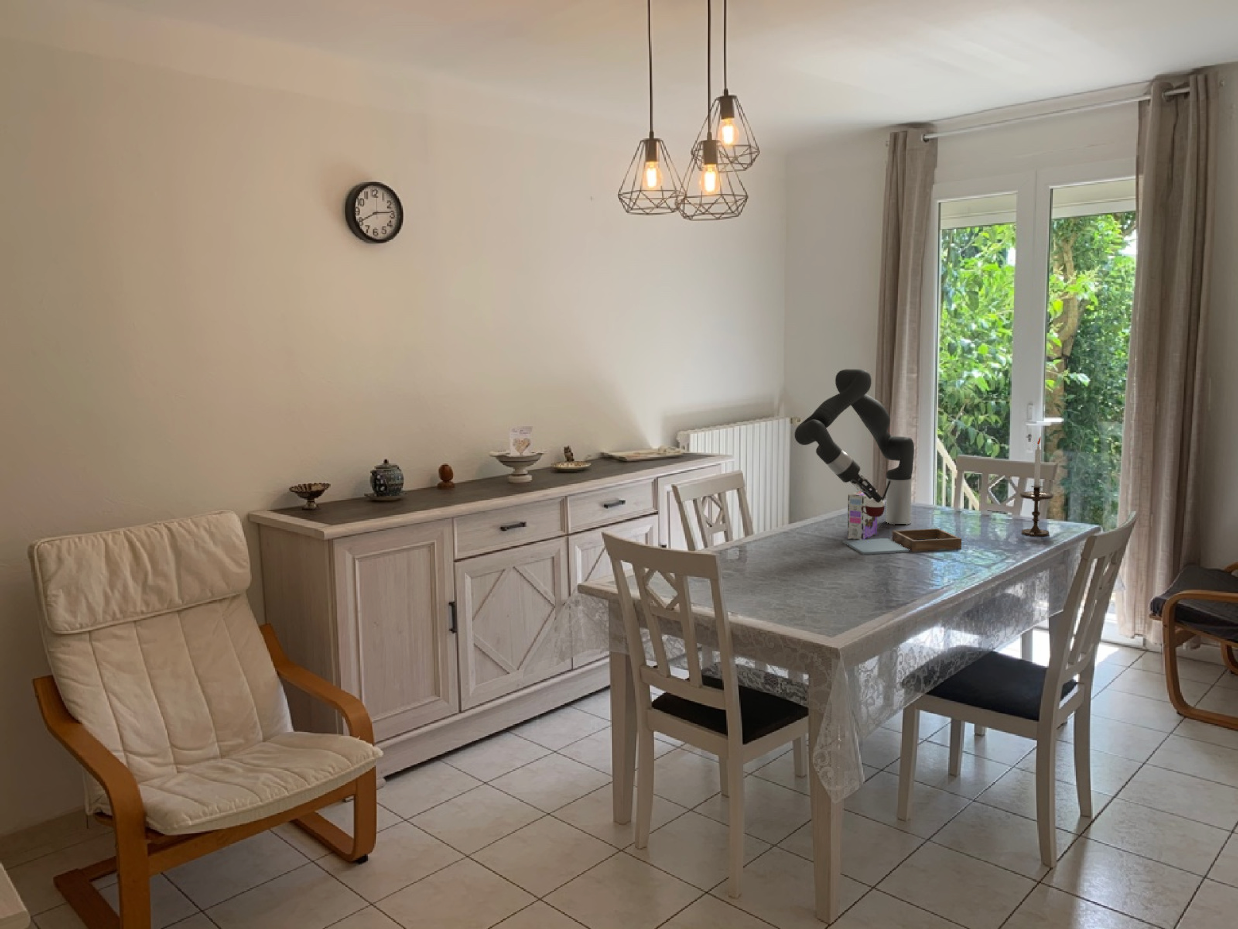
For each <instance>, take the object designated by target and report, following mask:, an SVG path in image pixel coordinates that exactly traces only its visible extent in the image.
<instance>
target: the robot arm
mask: <svg viewBox="0 0 1238 929" xmlns="http://www.w3.org/2000/svg"><path fill="white" fill-rule="evenodd" d="M834 378H835V380H834V381H835V386H836V390H837V392H838V393H837V394H835V395H833V396H831V397H829V398H827V399H826V400H824V401H823V402H822V403H821V404H820V405H819V406H818V407H817V408H816V409H815V410H814V412H813V413H812V414H811V415H809V416H808V417H807V418H806V419H805V420H803V421H802V422H801V423H799V424H798V426H797V427H796V429H795V430H794V439H795V441H796V443H798V444H799V445H802V446H807V445H811V444H812V443H817V445H818V446H817V447H816V449H815V453H816V455H817V456H818V457H819V459H820V460H822V462H824V464H826V465H827V467H828V468H829V469H830V471H831V472H833V474H834V475H836V476H837V477H838V479H840V480H841V482H843V483H846V484H847V483H850V484H851V485H853V486H854V487H855V489H856V490H858V491H861V492H863V493H864V494H865V495H866V496H867V497H868V498H869V499H871V498H873V499H874V500H875V501H876V502H878V503H879V502H880V501H881V500H882V497H883V496H881V495H880V494H879V493H878V491H877V492H876V490H877V488H875V487H874V486H873V484H871V483H870V481H868V479H866V477H864V476H863V475H862V474H860V471H861V466H860V465H859V464H858V463H857V462H856V461H855V460H854V459H853V458H852V457H851V456H850V455H849V453H847V452H845V451H844V450H843V449H842V448H841V447H840V446H839V445H838V444H837V443H836V442H835V441H834V440H833V438H832V435H830V433H829V431H828V429H827V428H828V427H830V426H831V425H832V424H833V423H834V422H835V420H837V418H838V417H839V416H840V415H841V414H842V413H843V412H844V411H845V410H847V409H848V408H850V407H852V409H853V411H855V412H856V414H857V416H859V419H860V420H861V422H862V423H863V425H864V426H865V427H866V428H867V429H868V432H870V434H871V436H872V437H873V439H874V441H875V443H876V444H877V446H878V448H879V451H880V452H881V454H882V456H883V458H885V459H886V460H888V461H889V460H890V461H897V462H898V466H897V467H895V468H892V469H888V470H887V471H886V475H885V476H886V477H885V479H886V480H885V481H886V482H885V484H886V485H885V486H886V487H887V484H888V482H889V480H890V481H891V483H890V485H889V488H888V490H887V493H886V495H885V523H886V522H887V523H886V524H888V523H889V525H895V524H906V525H910V524H911V523H912V481H913V480H912V476H913V469H914V456H915V443H914V440H913V439H912V438H911V437H910V436H909V437H908V436H897V435H892V434H890V432H889V431H888V430H889V427H890V424H891V416H890V415H889V412H888V411H887V409H886V407H885V406H884V405H883V404H882V403H881V402H880V401H879V400H877V399H875V398H874V397H873V396H870V395H869V394H867V393H869V391H870V389H871V387H872V377H871V374H870V373H869V371H867V370H865V369H859V368H858V369H856V368H855V369H854V368H847V369H846V368H845V369H841V370H839V371H838V372H837V373H836V376H835V377H834ZM886 487H885V488H886Z"/></svg>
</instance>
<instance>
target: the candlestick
mask: <svg viewBox="0 0 1238 929" xmlns="http://www.w3.org/2000/svg"><path fill="white" fill-rule="evenodd" d="M1041 439H1042V437H1041V436H1039V438H1038V440H1037V446H1036V448H1035V449H1034V472H1033V473H1034V476H1033V477H1034V478H1033V485H1031V486H1030V487H1031V488H1033V491H1032V490H1031V491H1021V492H1020V493H1019V497H1020V498H1022V499H1026V500H1027V499H1028V500H1031V501H1033V502H1034V503H1033V511H1031V515H1032V516H1033V518H1032V519H1031V521H1033V526H1032V527H1031V528H1024V529H1022V530H1021V534H1022V535H1023V534H1026V535H1025V536H1027V535H1030V536H1029V537H1035V536H1043V537H1047V536H1046V535H1048V536H1050V531H1049V530H1045V529H1041V528H1040V527H1039V526H1038V524H1039V522H1040V518H1039V516H1040V515H1041V512H1040V511H1039V502H1041V501H1043V500H1051V499H1054V494H1053V493H1051V492H1047V491H1046V492H1045V491H1041V488H1043V486H1041V461H1042V460H1041V459H1042V448H1040V443H1041Z"/></svg>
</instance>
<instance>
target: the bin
mask: <svg viewBox="0 0 1238 929" xmlns="http://www.w3.org/2000/svg"><path fill="white" fill-rule="evenodd" d="M891 531H892V533H891V538H892V539H891V540H892V541H895V542H896V543H897V544H899V545H900V544H901V545H902V546H904V547H905V548H908V549H910V550H909V551H911V552H929V551H928V550H930V551H940V550H939V549H948V550H958V549H957V548H961V549H962V541H963V540H962V539H963V538H962V537H960V536H956V535H954V534H953V533H949V532H947V531H945V530H943V529H941V528H938V527H936V528H924V529H923V528H921V529H902V530H900V529H899V530H891ZM930 538H931V539H930ZM932 538H937V539H932ZM917 539H925V540H917Z"/></svg>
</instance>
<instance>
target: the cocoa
mask: <svg viewBox="0 0 1238 929" xmlns="http://www.w3.org/2000/svg"><path fill="white" fill-rule="evenodd" d="M890 483H891V481H890V480H889V482H888V484H887V487H885V489H884V492H883V494H882V496H881V497H882V500H881V501H880V502H879V503H878V502H876V501H875V500H874V499H873V498H871V499H869V500H867V501H866V505H865V506H862V507H861V510H862V508H863V507H865V508H866V513H865V512H864V511H863V510H862V511H863V512H864V513H865V514H867V515H869V516H871V517H877V518H878V517H879V518H880V517H881V516H883V515H884V512H885V509H886V501H885V499H886V493H887V490H888V488H889V485H890Z"/></svg>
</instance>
